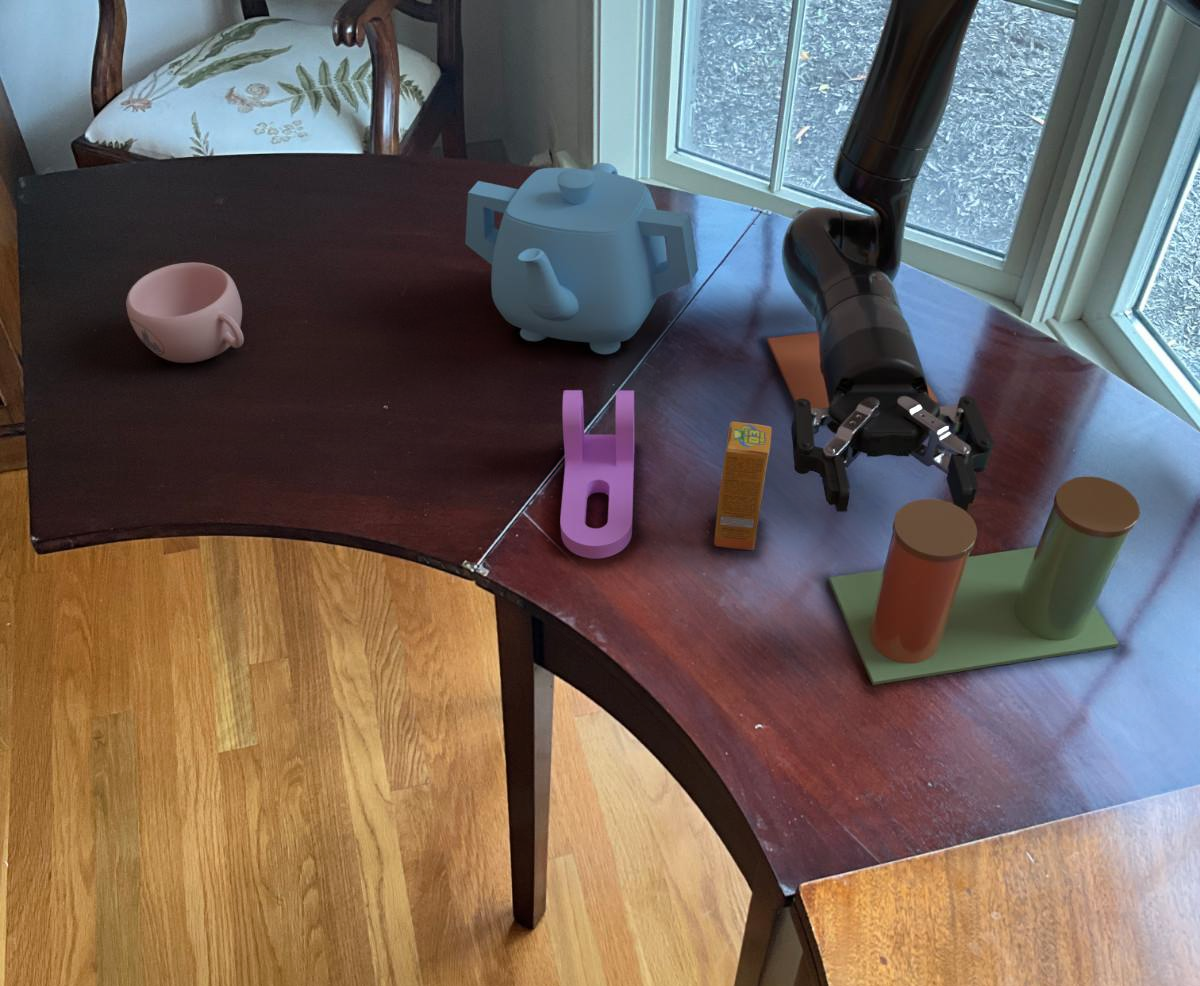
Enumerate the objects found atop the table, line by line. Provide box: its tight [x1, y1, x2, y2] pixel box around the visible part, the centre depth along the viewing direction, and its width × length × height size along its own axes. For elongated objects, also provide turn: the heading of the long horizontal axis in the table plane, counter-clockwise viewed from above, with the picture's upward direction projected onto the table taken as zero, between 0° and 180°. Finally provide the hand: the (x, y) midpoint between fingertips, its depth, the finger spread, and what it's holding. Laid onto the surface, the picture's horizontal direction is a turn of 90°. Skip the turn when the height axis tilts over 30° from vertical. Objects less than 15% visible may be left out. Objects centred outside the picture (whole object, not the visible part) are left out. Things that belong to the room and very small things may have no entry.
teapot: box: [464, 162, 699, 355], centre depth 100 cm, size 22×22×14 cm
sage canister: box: [1015, 476, 1141, 640], centre depth 76 cm, size 5×5×11 cm
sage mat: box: [828, 546, 1119, 686], centre depth 81 cm, size 18×10×1 cm, turn 100°
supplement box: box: [713, 421, 773, 551], centre depth 83 cm, size 3×3×10 cm
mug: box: [125, 261, 245, 364], centre depth 103 cm, size 12×10×6 cm
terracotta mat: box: [766, 331, 939, 408], centre depth 100 cm, size 12×12×1 cm
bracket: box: [559, 389, 635, 559], centre depth 87 cm, size 13×6×7 cm, turn 178°
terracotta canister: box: [869, 498, 978, 663], centre depth 75 cm, size 5×5×11 cm
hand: (904, 503), depth 79 cm, fingers open, 8 cm apart
